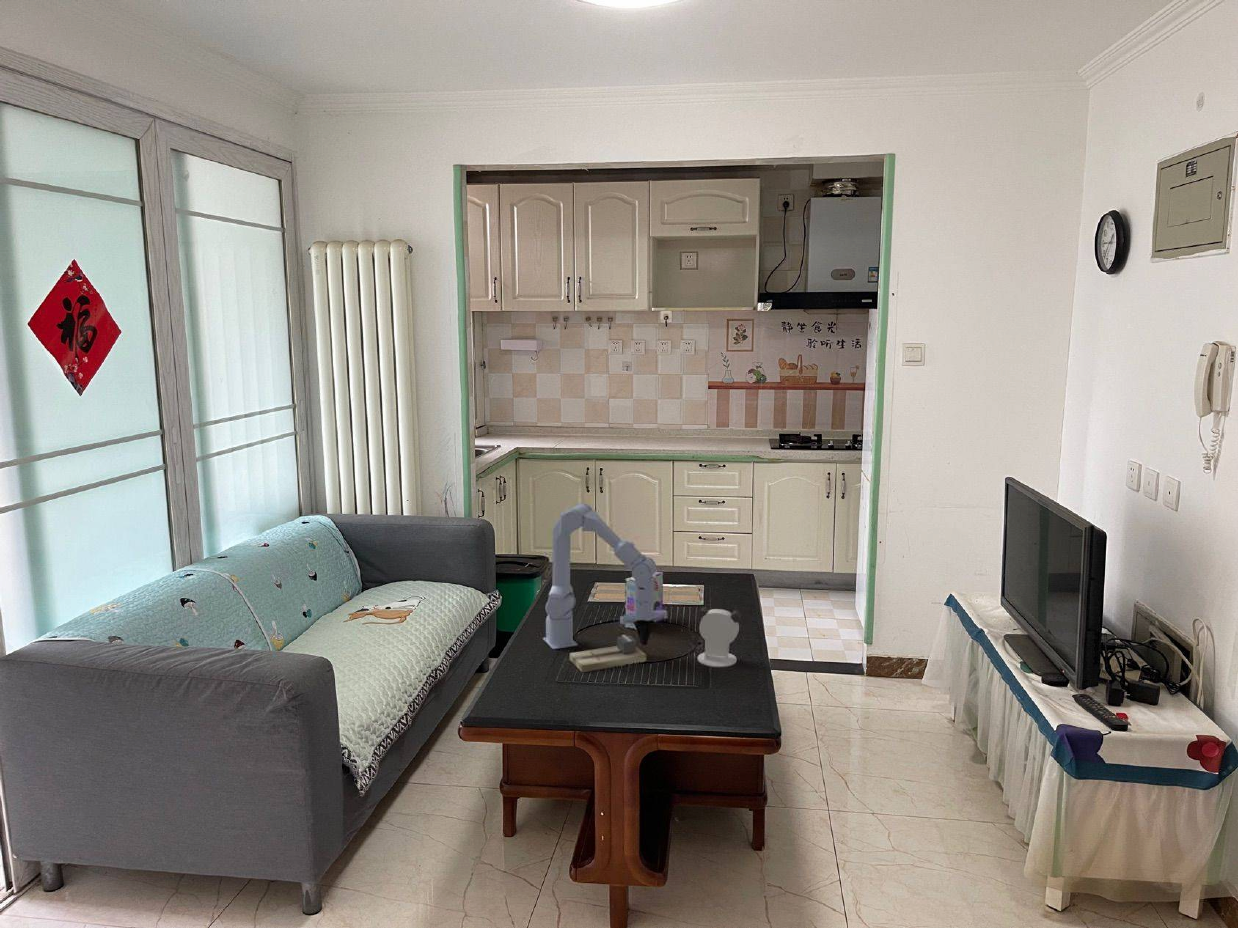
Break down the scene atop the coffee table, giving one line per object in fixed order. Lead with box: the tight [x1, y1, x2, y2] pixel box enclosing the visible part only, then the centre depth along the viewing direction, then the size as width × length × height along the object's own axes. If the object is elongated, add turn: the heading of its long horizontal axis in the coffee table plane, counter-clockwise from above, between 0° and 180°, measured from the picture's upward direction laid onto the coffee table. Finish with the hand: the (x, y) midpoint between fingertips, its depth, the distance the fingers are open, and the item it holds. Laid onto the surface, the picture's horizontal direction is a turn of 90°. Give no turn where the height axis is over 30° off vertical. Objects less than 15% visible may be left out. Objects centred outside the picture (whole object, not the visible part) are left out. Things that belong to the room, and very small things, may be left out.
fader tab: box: [616, 634, 637, 653], centre depth 258 cm, size 5×4×4 cm
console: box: [569, 645, 647, 673], centre depth 256 cm, size 10×20×2 cm, turn 114°
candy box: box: [624, 570, 664, 631], centre depth 286 cm, size 14×6×16 cm, turn 143°
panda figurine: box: [697, 606, 742, 668], centre depth 256 cm, size 12×11×15 cm
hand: (643, 643), depth 260 cm, fingers closed
